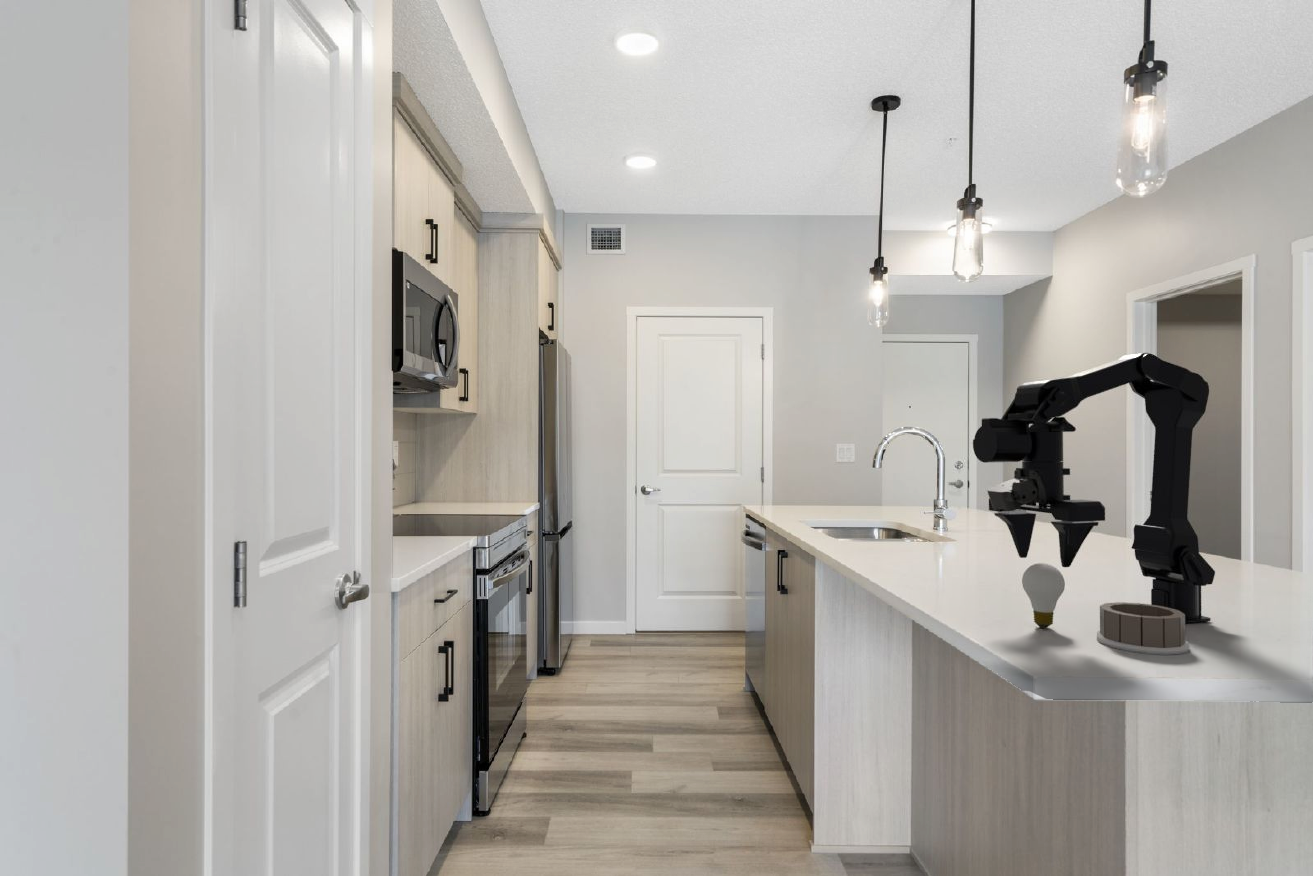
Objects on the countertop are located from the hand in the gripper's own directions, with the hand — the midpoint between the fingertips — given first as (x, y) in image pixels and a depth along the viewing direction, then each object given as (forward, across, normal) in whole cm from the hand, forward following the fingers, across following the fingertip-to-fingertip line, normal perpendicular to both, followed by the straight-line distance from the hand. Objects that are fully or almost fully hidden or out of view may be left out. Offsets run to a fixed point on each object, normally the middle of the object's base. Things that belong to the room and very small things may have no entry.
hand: (1043, 562), depth 116 cm
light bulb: (+10, 0, 0) cm, 10 cm away
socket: (+10, +11, +7) cm, 16 cm away
